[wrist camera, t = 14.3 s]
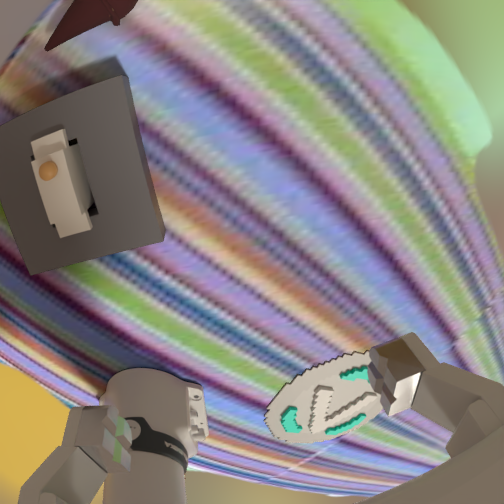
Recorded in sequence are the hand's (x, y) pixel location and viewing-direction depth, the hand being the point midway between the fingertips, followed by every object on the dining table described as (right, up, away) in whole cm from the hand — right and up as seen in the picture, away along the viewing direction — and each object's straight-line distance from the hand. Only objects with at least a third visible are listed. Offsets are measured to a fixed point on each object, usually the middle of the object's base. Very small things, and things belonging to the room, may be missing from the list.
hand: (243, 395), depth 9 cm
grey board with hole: (-20, +13, +23) cm, 33 cm away
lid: (+17, -25, +49) cm, 57 cm away
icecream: (-15, +31, +16) cm, 37 cm away
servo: (-20, +13, +23) cm, 33 cm away
